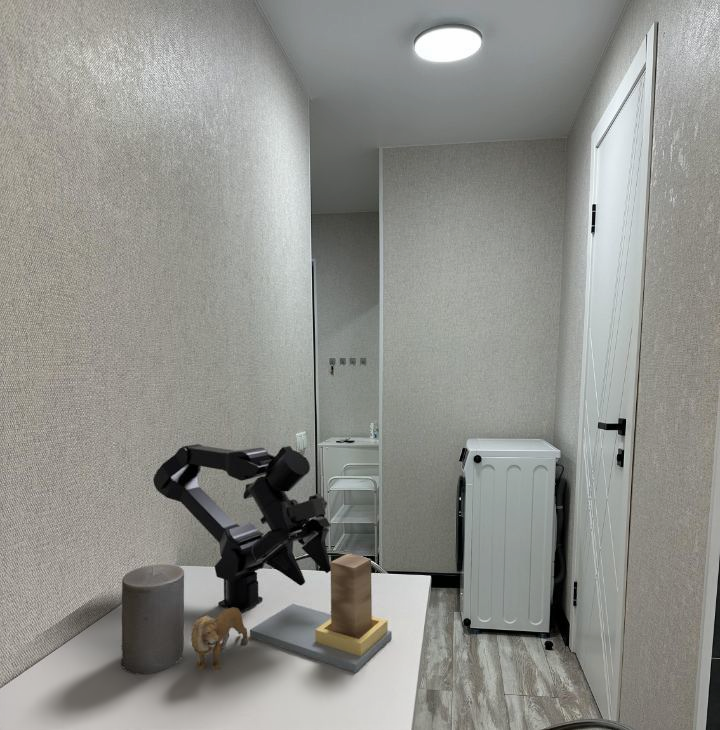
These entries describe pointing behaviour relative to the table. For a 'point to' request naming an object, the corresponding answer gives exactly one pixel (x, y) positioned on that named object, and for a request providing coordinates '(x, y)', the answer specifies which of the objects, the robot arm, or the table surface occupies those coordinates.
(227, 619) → the lion figurine
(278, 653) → the table surface
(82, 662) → the table surface
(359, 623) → the walnut column
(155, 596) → the pillar candle
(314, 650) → the base board
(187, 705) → the table surface
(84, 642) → the table surface
